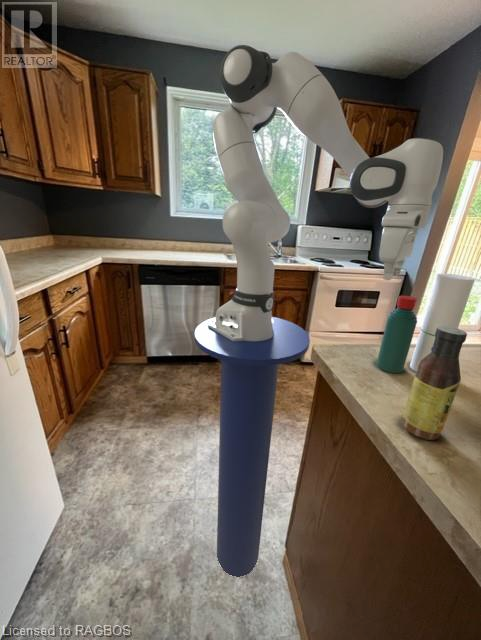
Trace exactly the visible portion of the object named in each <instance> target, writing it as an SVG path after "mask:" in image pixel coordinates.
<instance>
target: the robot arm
mask: <svg viewBox="0 0 481 640" xmlns="http://www.w3.org/2000/svg"><path fill="white" fill-rule="evenodd" d="M219 77H220V78H219V79H220V84H221V87H222V90H223V92H224V94H225V96H226V98H227V99H228V100H229V102H230V103H228V105H227V107H226V108H225V109H223V110H222V111H220V112H219V113H218V114H217V115H216V116H215V118H214V119H213V122H212V127H211V129H212V138H213V144H214V148H215V152H216V157H217V160H218V164H219V166H220V169H221V173H222V177H223V179H224V182H225V185H226V188H227V190H228V192H229V194H231V195H232V196H233V197H234V198H235V200H236V201H237V202H234V203H231V204H229V206H228V207H227V208H226V209H225V211H224V213H223V216H222V223H221V225H222V231H223V233H224V235H225V236H226V238H228V240H229V241H230V243H231V245H232V248H233V250H234V254H235V259H236V288H235V289H232V290H229V292H230V293H229V295H232V297H231V299H230V300H229V301H227V302H226V303H224V304H222V305H221V306H220V307H218V308H217V309H216V312H215V316H214V318H215V319H214V320H212V321H211V322H209V324H208V327H209V328H211V329H213V330H215V331H216V332H218V333H220V334H221V335H223V336H225V337H227V338H228V339H230V340H232V341H264V340H268V339H270V338H272V337H273V336H274V331H273V326H272V323H273V319H272V317H273V315H272V313H273V312H272V311H273V307H274V296H275V294H274V293H275V292H274V280H275V269H276V267H275V263H274V262H273V260H272V258H271V255H270V249H269V244H272V243H275V242H278V241H279V240H281V239H283V238H284V237H285V236H286V235H287V234H288V233H289V230H290V228H291V218H290V217H291V216H290V215H289V213H288V212H287V210H285V208H284V207H283V206H282V205H281V201H279V198H278V195H276V193H275V190H274V188H273V187H272V185H271V183H270V181H269V179H268V177H267V174H266V171H265V169H264V166H263V163H262V160H261V156H260V153H259V150H258V146H257V143H256V140H255V136H254V134H257V133H259V132H260V131H261V130H262V129H263V128H265V127H267V126H268V125H269V124H270V123H271V122H272V121H273V119H274V118H275V116H276V113H277V109H278V110H280V112H282V113H283V115H284V116H285V118H286V119H287V120H288V122H290V123H291V125H292V126H293V127H294V128H295V129H296V130H297V131H298V132H299V133H300V134H301V135H302V136H304V137H305V138H306V139H308V140H309V141H311V142H312V143H313V144H315V145H317V146H318V147H319V148H321V149H323V151H325V152H326V153H328V155H330V157H332V158H333V160H334V161H335V162H336V163H337V165H339V167H340V168H341V169H342V170H343V172H344V173H345V174H346V175H347V176H348V178H349V189H350V192H351V194H352V196H353V197H354V198H355V199H356V200H357V202H358V203H359V204H360V205H361V206H363V207H365V208H368V209H374V208H379V207H381V206H383V205H385V204H386V203H387V208H386V212H385V214H384V215H383V217H382V220H381V226H382V227H383V229H382V233H381V239H380V245H379V253H378V257H379V261H380V262H384V265H383V276H382V279H383V280H385V281H391V280H392V279H393V277H394V276H400V274H401V271H402V268H403V266H404V264H405V261H406V259H407V258H409V257H411V255H412V253H413V250H414V245H415V241H416V236H417V235H418V233H419V230H420V228H421V229H425V228H426V227H427V224H428V220H429V217H430V212H431V208H432V206H433V199H432V198H433V194H434V191H435V189H436V188H437V186H438V184H439V183H438V182H439V179H440V175H441V171H442V167H443V160H444V148H443V145H442V144H441V143H440V142H439V141H438V140H435V139H433V138H430V137H412V138H409V139H407V140H405V142H403V143H401V144H400V145H399V146H397V147H395V148H393V149H391V150H389V151H387V152H385V153H383V154H379V155H376V156H373V157H369V155H368V153H367V152H366V151H365V150H364V149H363V148H362V147H361V145H360V144H359V142H358V141H357V140H356V139H355V137H354V136H353V134H352V132H351V130H350V128H349V125H348V122H347V120H346V117H345V114H344V111H343V108H342V105H341V102H340V100H339V98H338V96H337V94H336V92H335V90H334V88H333V86H332V85H331V84H330V82H329V80H328V79H327V78H326V77H325V76H324V74H323V73H322V72H321V71H320V70H319V69H318V67H317V66H315V65H314V64H313V63H312V62H310V60H308V59H307V58H306V57H305V56H303V55H302V54H300V53H299V52H297V51H289V52H286V53H284V54H283V55H282V56H281V57H280V58H278V60H277V61H276V62H273V61H272V57H271V55H270V54H269V53H268V52H266V51H261V50H258V49H256V48H254V47H252V46H250V45H246V44H238V45H236V46H233V47H232V48H231V49H229V50H228V51H227V53H225V55H224V56H223V59H222V61H221V63H220V67H219Z"/></svg>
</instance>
